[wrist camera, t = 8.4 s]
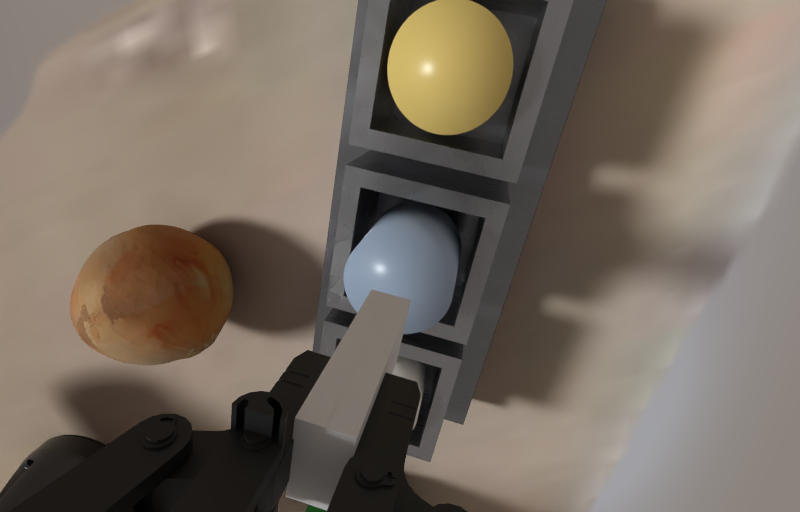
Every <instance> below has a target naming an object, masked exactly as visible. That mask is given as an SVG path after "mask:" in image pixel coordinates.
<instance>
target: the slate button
mask: <svg viewBox="0 0 800 512" xmlns="http://www.w3.org/2000/svg"><path fill="white" fill-rule="evenodd" d="M461 250H462V244H461V238H460V234H459V231H458V229H457V227H456V225H455V224H454V222H453V221H452V220H451V218H450V217H449V216H448V215H447V214H445V213H444V212H443V211H442V210H440V209H438V208H437V207H434V206H432V205H430V204H426V203H421V202H406V203H402V204H399V205H396V206H394V207H392V208H390V209H389V210H388V211H386V212H385V213H384V214H383V215H382V216H381V217H380V219H379V220H378V221H377V222H376V223H375V225H374V226H373V227H372V228H371V230H370V231H369V232H368V233H367V234H366V236H365V237H364V238H363V239H362V240H361V242H360V243H359V244H358V245H357V247H356V248H355V249H354V250H353V252H352V253H351V254H350V256H349V258H348V260H347V262H346V265H345V269H344V287H345V292H346V295H347V297H348V300H349V302H350V303H351V305H352V307H353V308H354V309H355V311H356V312H357V313H358V311H359V310H360V308H361V306H362V305H363V303H364V301H365V300H366V298H367V296H368V295H369V293H370V291H371V289H373V290H376V291H380V292H383V293H387V294H391V295H394V296H398V297H401V298H405V299H409V300H411V303H410V307H409V311H408V316H407V320H406V324H405V328H404V333H403V334H412V333H417V332H421V331H424V330H426V329H428V328H430V327H432V326H434V325H435V324H436V323H438V322H439V321H440V320H441V319H442V318H443V316H444V315H445V314H446V312H447V311H448V309H449V307H450V304H451V302H452V298H453V293H454V287H455V282H456V277H457V272H458V267H459V262H460V257H461Z"/></svg>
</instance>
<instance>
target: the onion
mask: <svg viewBox="0 0 800 512" xmlns="http://www.w3.org/2000/svg"><path fill="white" fill-rule="evenodd" d="M232 301H233V281H232V275H231V272H230V269H229V266H228V264H227V262H226V260H225V259H224V257H223V255H222V254H221V252H220V251H219V250H218V249H217V248H215V247H214V246H213V245H212V244H210V243H209V242H207V241H206V240H204V239H203V238H201V237H199V236H197V235H195V234H193V233H191V232H189V231H186V230H184V229H181V228H177V227H173V226H167V225H145V226H141V227H137V228H134V229H131V230H129V231H126V232H123V233H120V234H118V235H116V236H114V237H112V238H110V239H109V240H107V241H106V242H104V243H103V244H101V245H100V246H99V247H98V248H97V249H96V250H95V251H94V252H93V253H92V254H91V255H90V256H89V258H88V259H87V260H86V262H85V263H84V265H83V267H82V269H81V271H80V273H79V275H78V277H77V280H76V282H75V285H74V288H73V291H72V295H71V302H70V315H71V320H72V323H73V325H74V327H75V329H76V331H77V332H78V334H79V336H80V337H81V339H82V340H83V341H84V342H85V343H86V344H87V345H88V346H89V347H91V348H92V349H94V350H96V351H97V352H99V353H101V354H103V355H105V356H107V357H110V358H112V359H114V360H117V361H120V362H124V363H130V364H138V365H158V364H165V363H169V362H172V361H175V360H179V359H185V358H189V357H192V356H195V355H197V354H199V353H200V352H202V351H203V350H205V349H206V348H208V347H209V346H211V345H212V344H213V342H214V341H215V340H216V338H217V336H218V334H219V333H220V331H221V329H222V328H223V326H224V324H225V322H226V320H227V318H228V316H229V314H230V312H231V309H232Z"/></svg>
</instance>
